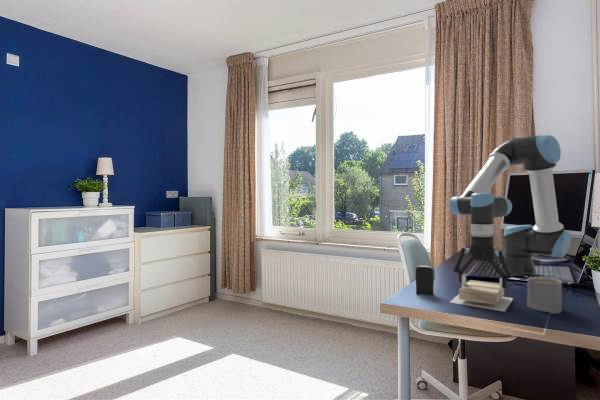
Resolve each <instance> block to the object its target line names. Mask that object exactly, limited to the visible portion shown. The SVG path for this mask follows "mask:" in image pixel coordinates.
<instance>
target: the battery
mask: <svg viewBox="0 0 600 400" xmlns="http://www.w3.org/2000/svg"><path fill="white" fill-rule="evenodd" d="M435 280H436V271H435V268H434V267H433V266H431V265H421V264H420V265H418V266H416V267H415V294H416V295H419V296H420V295H426V296H434V295H435Z"/></svg>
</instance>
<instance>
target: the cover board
mask: <svg viewBox="0 0 600 400" xmlns="http://www.w3.org/2000/svg"><path fill="white" fill-rule="evenodd" d="M458 294H459V299H461V300H468V301H474V302H481V303H487V304H494V305H496V304H497V303H498V301H499V300H500V299H501V298H500V282H498V283H497V282H489V281H480V280H473V279H469V281H466V284H465V285H464V286H463V287H462V286H461V287H460V288H459V289H458ZM504 295H505V288H503V296H504Z"/></svg>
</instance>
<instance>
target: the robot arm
mask: <svg viewBox="0 0 600 400" xmlns="http://www.w3.org/2000/svg"><path fill="white" fill-rule="evenodd" d="M561 153H562V151H561V146H560V143H559V141H558V140H557V139H556V137H555V136H553V135H549V134H548V135H547V134H546V135H542V134H541V135H539V134H538V135H531V136H523V137H514V138H511V139H509V140H506V141H504V142H503V143H501V144H500V145H498V146H497V147H496V148H495V149H493V151H492V152H490V154H489V155H488V157H487V162H486V163H485V164H484V165H483V167H482V168H481V169H480V171H479V172H478V173H477V175H476V176H475V177H474V178H473V179H472V180H471V182H470V183H469V185H468V186H467V187H466V188H465V190H464V191H463V193H462V194H461V195H460V196H459V195H457V196H452V197H451V199H450V200H449V203H448V208H449V211H450V213H452V214H453V215H457V216H458V215H459V216H470V234H471V236H470V248H469V247H462V248H461V253H460V256H459V257H458V258H459V259H458V260H457V262H456V264H455V266H454V269H453V272H454V273H456V274H458V283H460V284H461V287H463V286H464V285H465V284H466V283H467V274H466V273H465V272H466V270H467V269H468V268H469V267H470V266H471V265H472V263H474V261H477V262H479V261H480V262H481V261H482V262H488V263H489V264H490V265H491V266H492V267H493V269H494V270H495V272H496V273H497V274H498V276H499V277H500V278H499V284H500V298H502V297H504V295H503V288H504V289H506V288H507V285H508V283H507V280H508V279H511V278H512V277H514V276H533V275H536V276H537V270H536V266H535V264H534V260H533V255H540V256H546V257H547V256H548V257H552V258H553V257H554V258H555V257H557V258H562V257H564V256H566V254H568V251H569V250H570V246H571V241H572V235H571V232H570V231H568V230H565V227H564V224H562V222H559V214H558V206H557V196H556V189H555V182H554V181H555V180H554V174H553V170H554V169H555V167H557V163H559V162H560V160H561ZM516 165H517V166H518V165H522V166H523V170H524V171H525V172H527V173H528V175H529V176H528V177H529V183H530V191H531V196H532V207H533V211H534V221H535V224H534V225H532V224H518V225H516V224H515V225H509V226H506V227H504V230H503V249H501V250H495V248H494V246H495V245H494V242H495V241H494V240H495V239H494V236H493V235H494V234H495V231H494V229H495V227H494V219H495V218H503V217H506V216H509V215H510V214H511V212H512V209H513V204H512V202H511V200H510V199H509V198H507V197H505V196H494V193H491V192H489V191H490V189H491V188H492V187H493V186H494V184H495V183H496V181H498V179H499V178H500V176H502V173H504V171H507V170H508V169H509V168H510V167H512V166H516ZM469 253H470V254H471V257H470V258H469V259H468V261H467V262H466V263H465V264H464V266H463V267H462V268H461V266H462V264H463V262H464V259H465V257H466V255H468V254H469ZM494 255H496V257H498V259H499V262H500V263H501V264H500V265H499V264H498V263H497V261H496V259H495V258H494V257H493V256H494ZM460 268H461V269H460Z"/></svg>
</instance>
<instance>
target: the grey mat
mask: <svg viewBox="0 0 600 400" xmlns="http://www.w3.org/2000/svg"><path fill="white" fill-rule="evenodd" d="M513 299H514V298H513V297H506V296H503V297H502V298H501V299H500V300H499V301H498V303H497V304H496V305H494V304H487V303H481V302H474V301H468V300H461V299H459V293H458V294H457V295H455V296H454V298H453V299H452V300H450V301H449V303H451V304H457V305H461V306H462V305H463V306H469V307H475V308H481V309H488V310H494V311H499V312H504V313H505V312H506V311H507V310H508V308H509V306H510V304H511V303H512V301H513Z"/></svg>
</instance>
